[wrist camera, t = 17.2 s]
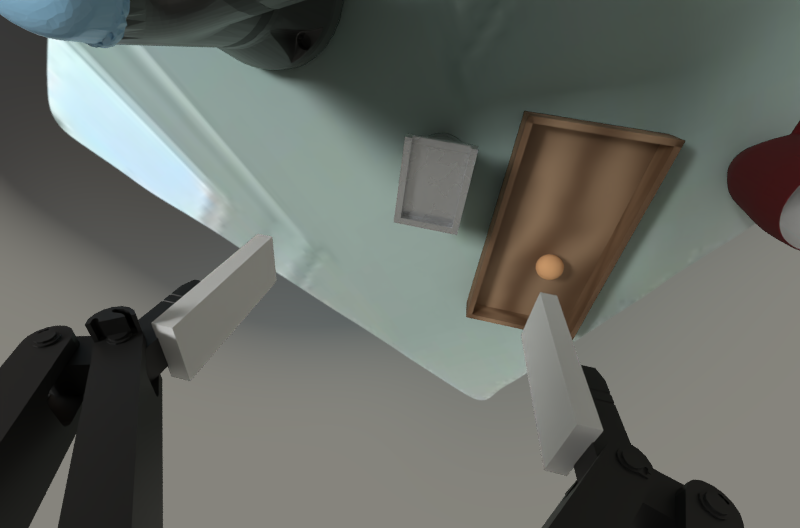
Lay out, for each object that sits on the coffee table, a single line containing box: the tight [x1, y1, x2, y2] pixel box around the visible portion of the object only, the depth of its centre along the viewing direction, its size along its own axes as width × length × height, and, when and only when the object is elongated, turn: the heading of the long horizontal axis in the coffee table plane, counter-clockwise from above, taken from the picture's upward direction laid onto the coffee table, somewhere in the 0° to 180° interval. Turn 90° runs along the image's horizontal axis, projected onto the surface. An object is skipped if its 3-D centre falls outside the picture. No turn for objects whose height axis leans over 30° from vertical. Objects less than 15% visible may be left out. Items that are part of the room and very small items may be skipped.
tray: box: [466, 111, 685, 340], centre depth 38 cm, size 14×25×3 cm, turn 173°
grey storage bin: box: [394, 133, 478, 235], centre depth 34 cm, size 6×8×8 cm
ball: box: [536, 254, 564, 280], centre depth 39 cm, size 3×3×3 cm
